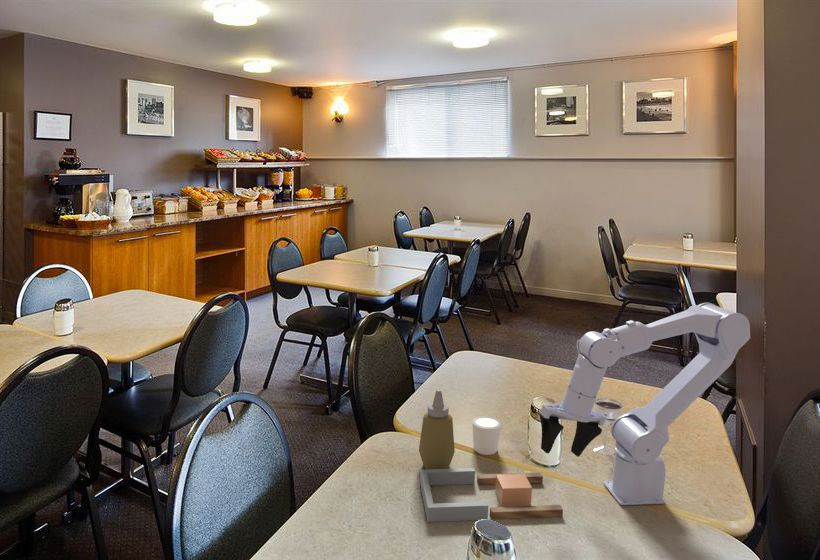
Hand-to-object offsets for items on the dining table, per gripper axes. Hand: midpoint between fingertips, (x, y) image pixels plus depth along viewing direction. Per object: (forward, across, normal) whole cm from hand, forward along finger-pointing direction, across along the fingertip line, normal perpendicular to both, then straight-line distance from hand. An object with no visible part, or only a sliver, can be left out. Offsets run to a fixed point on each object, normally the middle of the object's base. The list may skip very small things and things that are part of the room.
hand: (560, 452), depth 105 cm
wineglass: (+5, -24, -13) cm, 28 cm away
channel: (+12, +5, -1) cm, 13 cm away
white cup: (+12, +2, -21) cm, 25 cm away
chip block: (+12, +6, -2) cm, 14 cm away
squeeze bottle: (+16, +16, -17) cm, 28 cm away
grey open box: (+15, +18, -4) cm, 23 cm away
